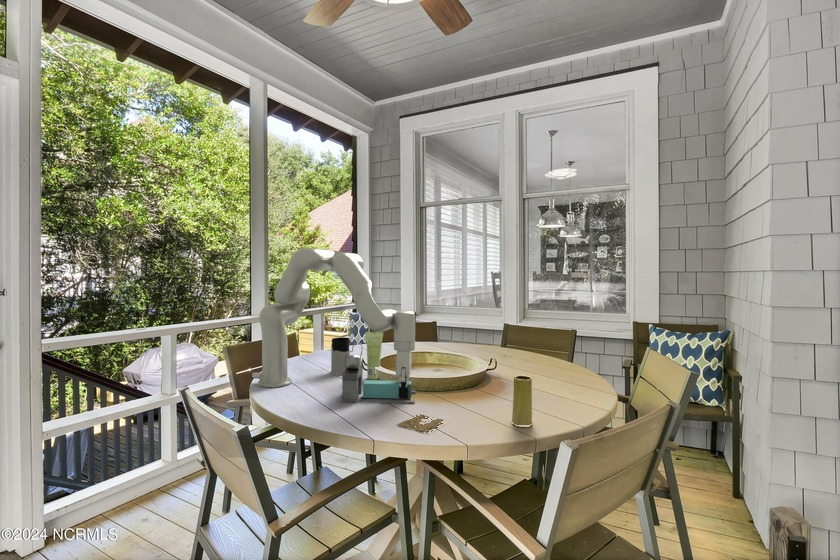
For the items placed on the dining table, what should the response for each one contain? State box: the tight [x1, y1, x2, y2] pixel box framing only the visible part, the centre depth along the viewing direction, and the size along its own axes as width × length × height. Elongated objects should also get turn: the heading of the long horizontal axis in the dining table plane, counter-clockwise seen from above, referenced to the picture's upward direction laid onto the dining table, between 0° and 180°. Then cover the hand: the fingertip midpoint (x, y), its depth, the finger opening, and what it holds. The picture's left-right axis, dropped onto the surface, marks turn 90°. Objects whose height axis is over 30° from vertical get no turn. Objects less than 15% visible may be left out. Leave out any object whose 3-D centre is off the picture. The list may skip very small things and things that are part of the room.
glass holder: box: [330, 336, 363, 377], centre depth 189 cm, size 9×14×15 cm, turn 82°
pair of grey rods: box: [379, 390, 417, 405], centre depth 155 cm, size 12×14×1 cm
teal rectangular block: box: [362, 379, 412, 399], centre depth 155 cm, size 17×4×5 cm, turn 89°
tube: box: [364, 331, 384, 380], centre depth 181 cm, size 6×5×20 cm
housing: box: [341, 354, 364, 403], centre depth 156 cm, size 5×13×15 cm, turn 179°
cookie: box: [396, 413, 444, 433], centre depth 130 cm, size 12×12×1 cm
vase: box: [511, 374, 533, 425], centre depth 131 cm, size 6×6×14 cm
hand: (403, 395), depth 155 cm, fingers closed on teal rectangular block, 4 cm apart
